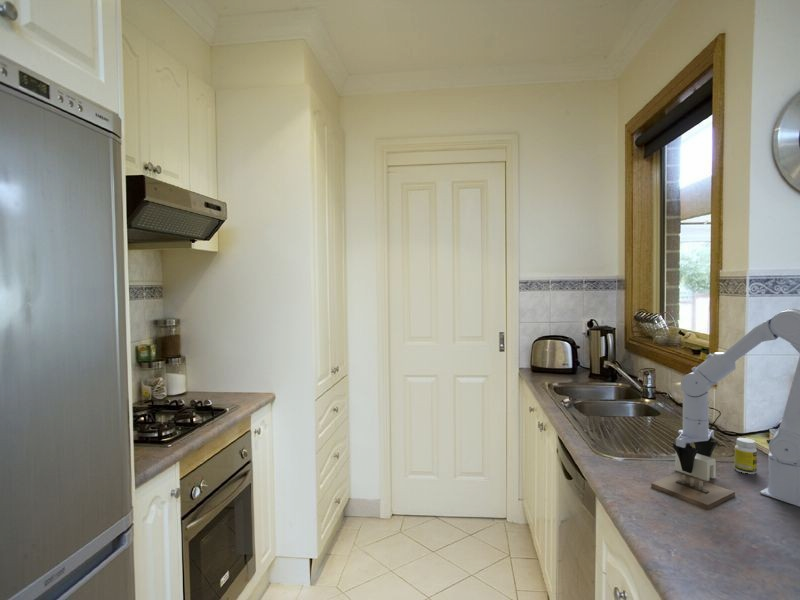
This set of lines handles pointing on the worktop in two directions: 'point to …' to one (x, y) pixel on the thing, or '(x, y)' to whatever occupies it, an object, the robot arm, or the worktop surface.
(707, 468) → the block
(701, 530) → the worktop surface
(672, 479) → the pin board
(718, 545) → the worktop surface
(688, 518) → the worktop surface
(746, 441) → the supplement bottle
